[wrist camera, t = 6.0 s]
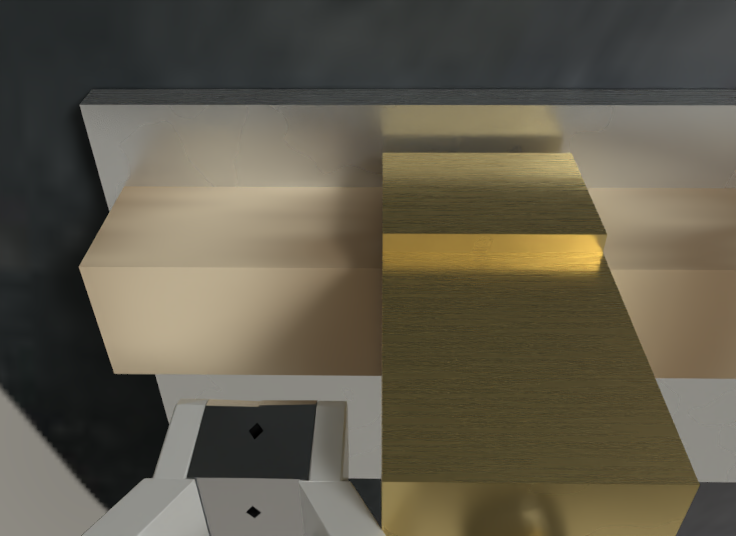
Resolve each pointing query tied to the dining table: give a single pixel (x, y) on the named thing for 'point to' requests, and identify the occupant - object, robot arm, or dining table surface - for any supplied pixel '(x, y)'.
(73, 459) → the dining table surface
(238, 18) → the dining table surface
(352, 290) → the trammel beam
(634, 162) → the flange plate
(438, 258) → the sliding leg
